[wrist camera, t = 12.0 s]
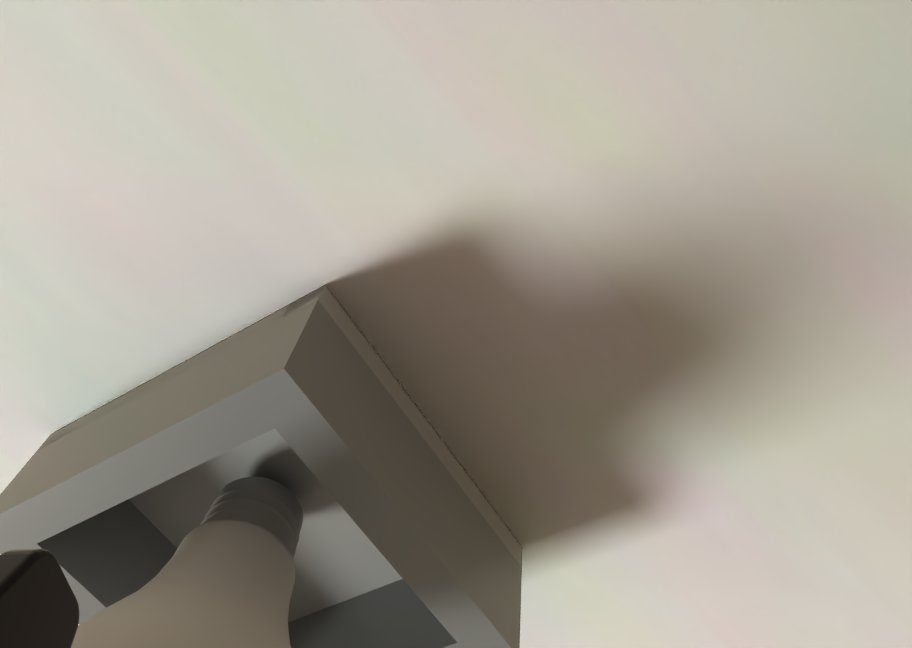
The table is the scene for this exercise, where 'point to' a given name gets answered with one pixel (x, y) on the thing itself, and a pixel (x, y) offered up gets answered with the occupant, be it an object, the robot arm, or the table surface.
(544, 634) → the table surface
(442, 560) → the socket
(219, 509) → the lightbulb
